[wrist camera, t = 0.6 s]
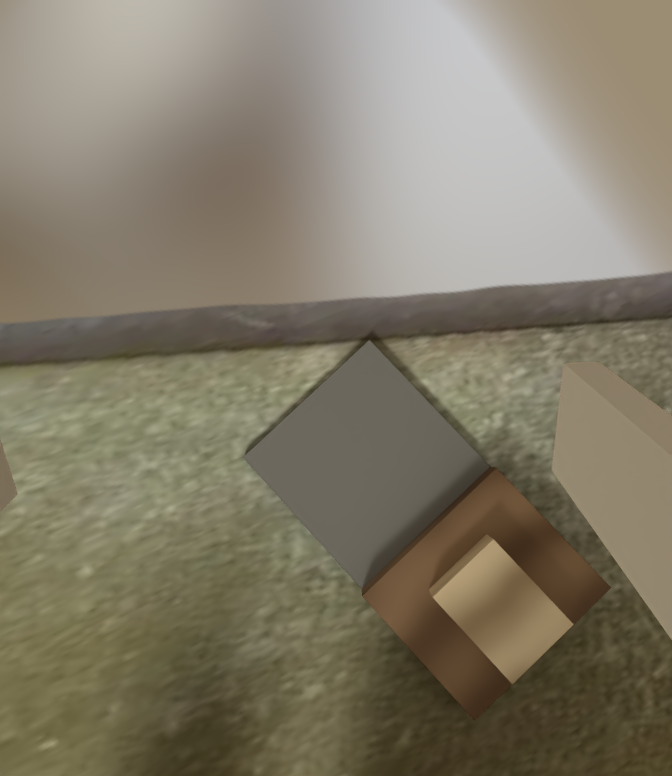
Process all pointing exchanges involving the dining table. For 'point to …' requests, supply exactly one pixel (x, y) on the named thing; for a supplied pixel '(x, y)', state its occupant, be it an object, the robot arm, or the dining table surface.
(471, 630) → the birch tile
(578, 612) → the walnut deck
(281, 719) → the dining table surface
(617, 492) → the robot arm
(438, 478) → the slate mat
